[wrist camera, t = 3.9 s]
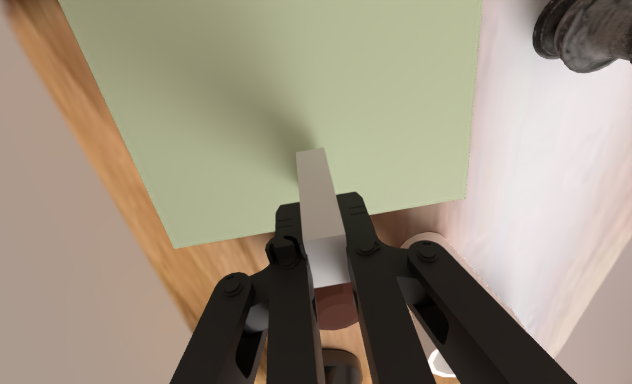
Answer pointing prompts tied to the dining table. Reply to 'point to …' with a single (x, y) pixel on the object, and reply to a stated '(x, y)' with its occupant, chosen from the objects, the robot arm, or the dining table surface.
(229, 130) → the lid
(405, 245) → the foam cup
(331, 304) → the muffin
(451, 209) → the dining table surface
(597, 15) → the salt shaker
